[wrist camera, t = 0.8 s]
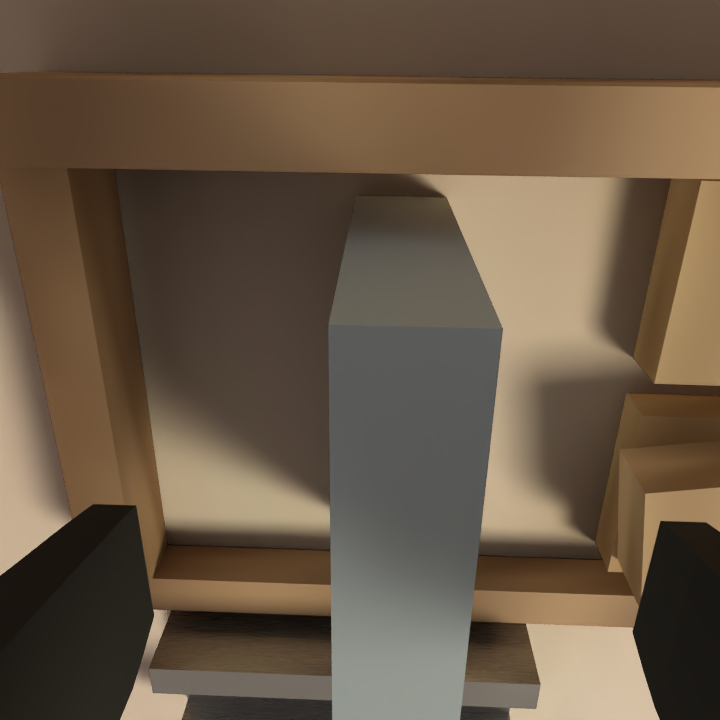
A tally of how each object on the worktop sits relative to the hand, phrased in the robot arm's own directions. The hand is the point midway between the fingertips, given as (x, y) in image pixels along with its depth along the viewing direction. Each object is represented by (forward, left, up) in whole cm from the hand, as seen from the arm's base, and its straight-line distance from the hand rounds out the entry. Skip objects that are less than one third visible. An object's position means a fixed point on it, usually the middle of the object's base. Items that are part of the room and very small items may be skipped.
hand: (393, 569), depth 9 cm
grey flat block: (0, 0, -6) cm, 6 cm away
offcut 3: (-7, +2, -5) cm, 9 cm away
